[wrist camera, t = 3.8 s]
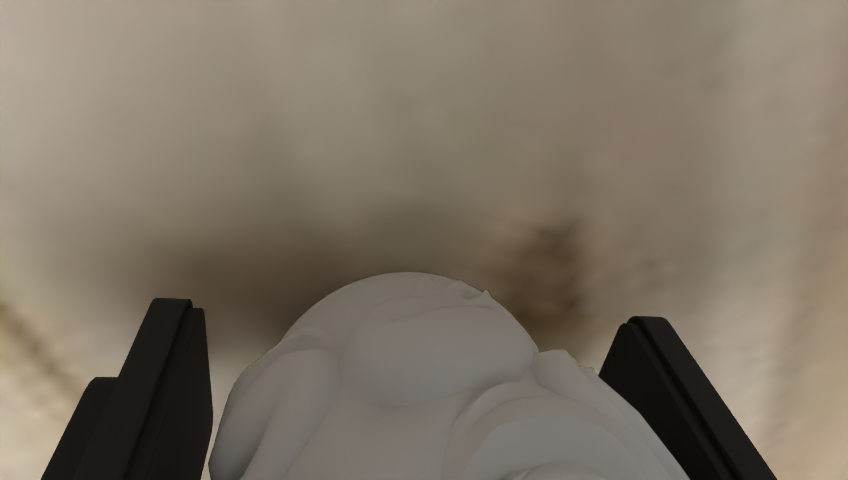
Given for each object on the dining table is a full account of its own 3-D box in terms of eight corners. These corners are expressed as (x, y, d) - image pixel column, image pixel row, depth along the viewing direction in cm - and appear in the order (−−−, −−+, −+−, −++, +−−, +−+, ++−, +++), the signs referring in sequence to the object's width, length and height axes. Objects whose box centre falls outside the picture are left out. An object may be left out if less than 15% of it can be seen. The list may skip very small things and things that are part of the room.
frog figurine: (578, 389, 13) (751, 791, 8) (281, 442, 13) (230, 890, 8) (581, 155, 10) (900, 562, 4) (184, 225, 10) (-47, 738, 4)
